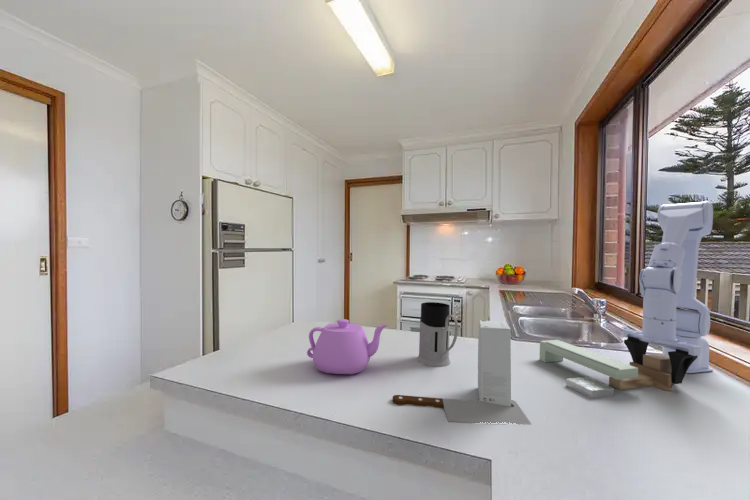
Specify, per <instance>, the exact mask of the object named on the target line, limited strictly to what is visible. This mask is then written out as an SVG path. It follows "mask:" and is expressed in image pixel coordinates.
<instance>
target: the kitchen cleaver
mask: <svg viewBox="0 0 750 500" xmlns="http://www.w3.org/2000/svg"><path fill="white" fill-rule="evenodd" d="M392 403H393V404H395V405H396V406H404V405H409V406H410V405H411V406H418V407H433V408H437V409H443V411H444V414H445V417H446V419H447V423H452V424H453V423H455V424H456V423H457V424H472V423H473V424H474V423H480V422H481V423H482V422H483V423H485V422H486V423H487V422H488V423H490V422H491V423H496V422H497V423H498V422H499V423H502V422H503V423H504V422H506V423H508V424H509V422H510V423H512V424H513V423H516V424H518V425H521V424H522V425H532V423H531V420H530V419H529V418H528V417H527V416H526V413H525V412H524V411H523V410H522V408H521V407H520V405H519V404H518V403H517V401H516V400H514V399H511V407H508V406H504V405H499V404H494V403H489V402H484V401H480V399H475V400H473V399H456V398H455V399H453V398H442V397H440V398H439V397H429V396H427V397H426V396H418V395H417V396H416V395H404V394H394V395H392ZM488 423H487V424H486V425H492V424H491V423H490V424H488ZM499 423H498V424H497V425H500V424H499ZM518 425H517V426H518ZM522 425H521V426H522Z"/></svg>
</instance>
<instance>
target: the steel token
mask: <svg viewBox="0 0 750 500" xmlns="http://www.w3.org/2000/svg"><path fill="white" fill-rule="evenodd" d="M565 386H566V387H568V388H570V389H572V390H574V391H575V390H576V392H577V391H578V393H579V394H582V395H583V396H585V395H586V396H585V397H587V396H588V398H589V397H590V399H591V398H592V399H599V398H607V397H613V396H614V393H615V391H614V390H615V387H613V386H611V385H609V384H605V383H603V382H601V381H598V380H596V379H594V378H592V377H590V376H579V377H572V378H571V377H570V378H566V380H565Z"/></svg>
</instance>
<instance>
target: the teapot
mask: <svg viewBox="0 0 750 500" xmlns="http://www.w3.org/2000/svg"><path fill="white" fill-rule="evenodd" d="M336 321H337V322H335V323H333V322H332V323H328V324H327V325H325V326H324V327H322V326H316V327H314V328H312V329H311V330H310V331H309V333H308V342H309V343H310V347H309V348H308V349H307V351H306V355H307V357H308V358H310V359H312V363H313V365H314V366H315V367H316V369H317V370H318V371H320V372H322V373H325V374H334V375H335V374H336V375H351V376H353V375H355V374H358V373H361V372H362V371H364V370H365V369H366V367H367V366H368V364H369V362H370V359H371V357H372V356H374V355H375V354H376V353H377V352H378V350H379V345H380V339H381V338H380V337H381V333H382V331H383V330H384V329H385V328H386V327H388V325H389V324H387V323H386V324H381V325H378V326H376V328H375V329H374V333H373V338H372V341H371V342H369V339H368V337H367V335H366V334H367V333H366V332H365V330H364V328H363V326H362V325H361V324H356V323H350V322H349V321H350V320H348V319H346V318H343V319H341V318H340V319H338V320H336ZM315 332H320V334H319V336H318V338H317V340H316V342H315V339H314V333H315ZM311 351H312V352H311Z"/></svg>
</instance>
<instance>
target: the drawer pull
mask: <svg viewBox="0 0 750 500" xmlns="http://www.w3.org/2000/svg"><path fill="white" fill-rule="evenodd" d="M564 359H566V360H569V361H570V362H573V363H575V364H578V365H581V366H583V367H584V368H587V369H590V370H591V371H595V372H598V373H599V374H602V375H605V376H607V377H608V378H609V377H612V378H614V379H626V378H636V377H638V368H637V367H634V366H631V365H630V364H628V363H625V362H622V361H619V360H616V359H613V358H611V357H608V356H605V355H603V354H599V353H596V352H594V351H591V350H588V349H584V348H582V347H579V346H576V345H573V344H571V343H568V342H565V341H562V340H559V339H550V340H548V339H547V340H539V360H540V361H542V362H543V363H550V362H562V361H564Z"/></svg>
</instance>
